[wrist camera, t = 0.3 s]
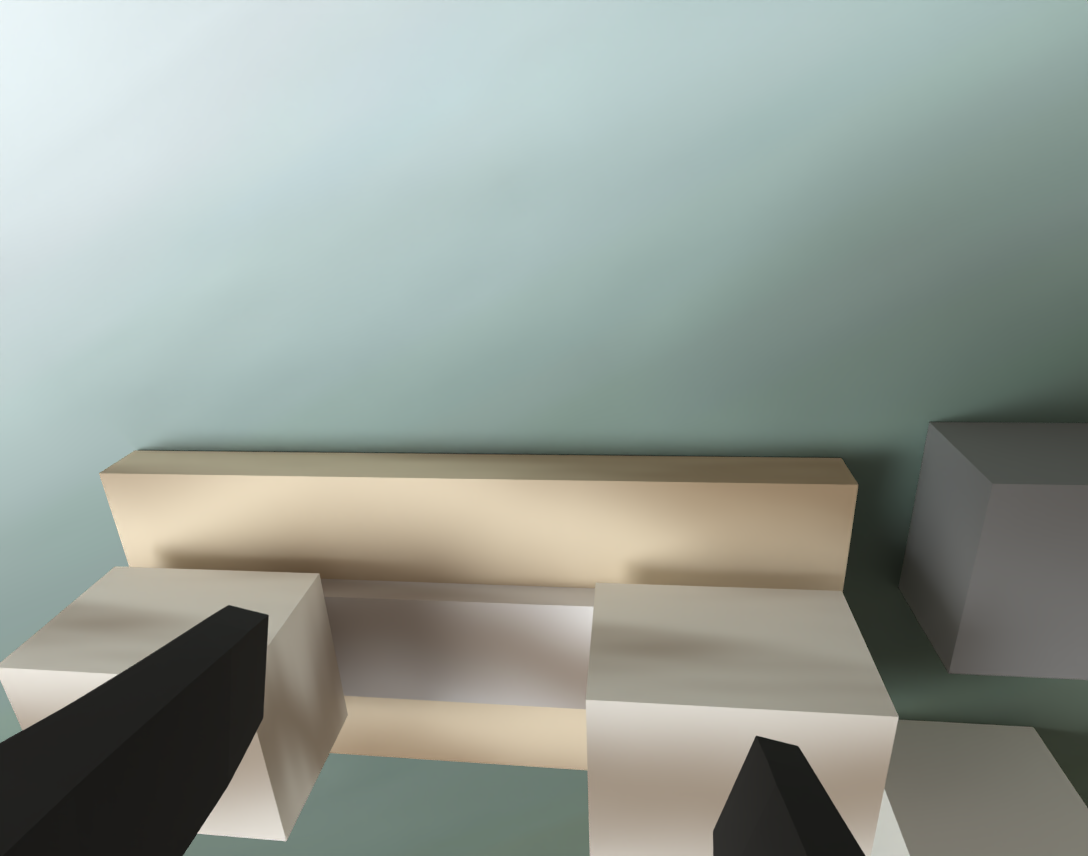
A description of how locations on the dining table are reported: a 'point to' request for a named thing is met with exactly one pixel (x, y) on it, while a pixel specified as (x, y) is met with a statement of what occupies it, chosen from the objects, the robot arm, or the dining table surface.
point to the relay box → (1002, 548)
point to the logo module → (977, 794)
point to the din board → (501, 623)
